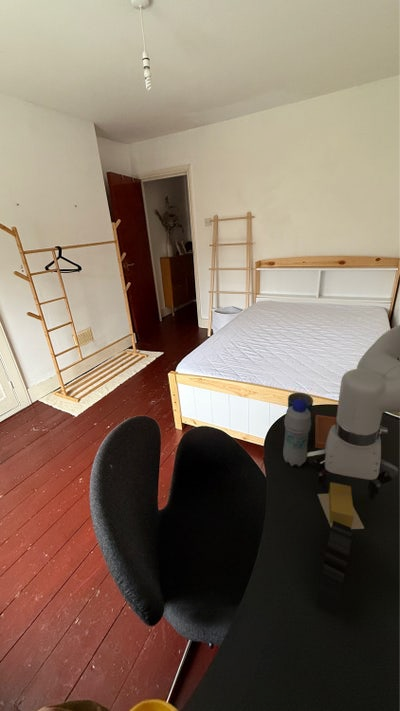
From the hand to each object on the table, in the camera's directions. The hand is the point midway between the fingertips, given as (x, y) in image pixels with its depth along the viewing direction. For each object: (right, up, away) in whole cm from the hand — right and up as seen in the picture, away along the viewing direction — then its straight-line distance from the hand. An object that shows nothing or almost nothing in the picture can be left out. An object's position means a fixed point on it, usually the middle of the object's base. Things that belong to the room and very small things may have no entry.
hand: (346, 489), depth 66 cm
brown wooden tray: (+9, +5, +25) cm, 27 cm away
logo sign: (-6, -12, -8) cm, 16 cm away
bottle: (-6, 0, +18) cm, 19 cm away
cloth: (0, -6, +3) cm, 7 cm away
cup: (-3, +4, +25) cm, 25 cm away
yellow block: (0, -6, +3) cm, 7 cm away
